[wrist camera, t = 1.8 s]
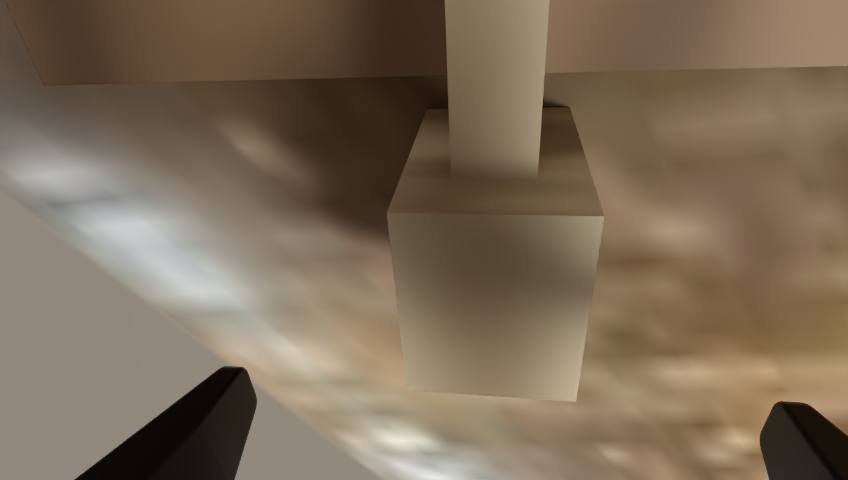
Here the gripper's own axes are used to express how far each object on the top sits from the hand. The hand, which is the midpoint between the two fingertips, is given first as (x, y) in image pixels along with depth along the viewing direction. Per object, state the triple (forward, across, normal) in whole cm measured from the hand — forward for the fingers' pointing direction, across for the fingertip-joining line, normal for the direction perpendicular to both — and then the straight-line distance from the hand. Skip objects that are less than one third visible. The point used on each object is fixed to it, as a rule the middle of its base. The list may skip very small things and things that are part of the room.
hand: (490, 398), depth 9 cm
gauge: (+8, 0, -4) cm, 9 cm away
